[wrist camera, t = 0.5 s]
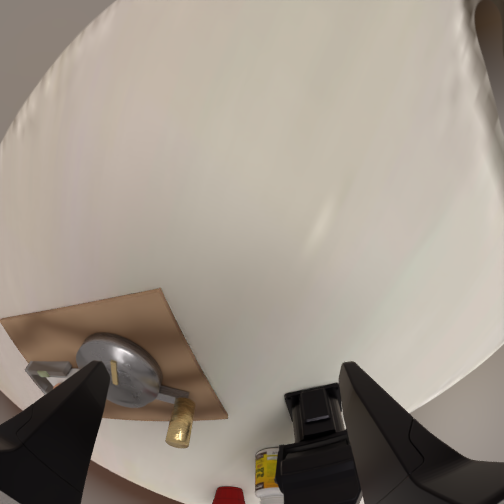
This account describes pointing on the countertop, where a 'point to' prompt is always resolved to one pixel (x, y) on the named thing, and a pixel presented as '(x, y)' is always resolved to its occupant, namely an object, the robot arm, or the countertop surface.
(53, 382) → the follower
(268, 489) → the supplement bottle
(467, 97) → the countertop surface
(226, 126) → the countertop surface
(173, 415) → the wheel
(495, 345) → the countertop surface
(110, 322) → the wooden base board
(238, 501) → the plastic cup
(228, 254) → the countertop surface
